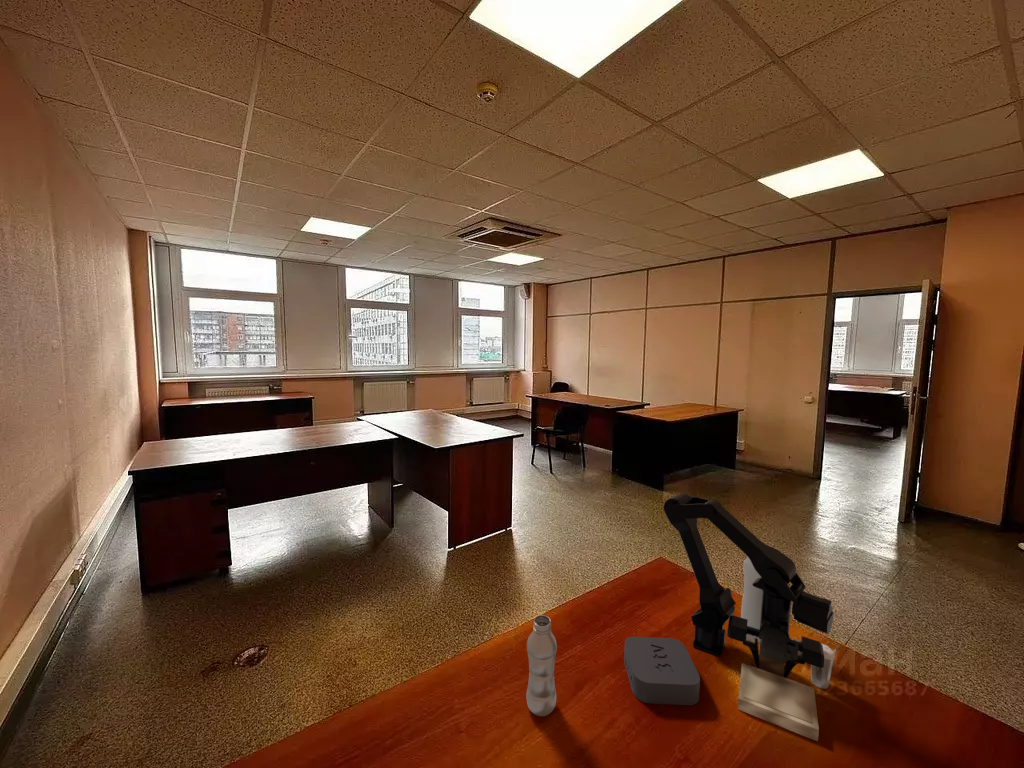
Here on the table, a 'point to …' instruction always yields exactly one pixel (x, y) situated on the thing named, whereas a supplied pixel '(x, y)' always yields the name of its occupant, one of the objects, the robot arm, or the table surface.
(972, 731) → the table surface
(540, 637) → the plastic bottle
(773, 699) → the base
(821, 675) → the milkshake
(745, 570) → the grey ridged slab
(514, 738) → the table surface
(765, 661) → the walnut block
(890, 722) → the table surface
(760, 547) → the robot arm
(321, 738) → the table surface
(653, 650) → the streaming box
